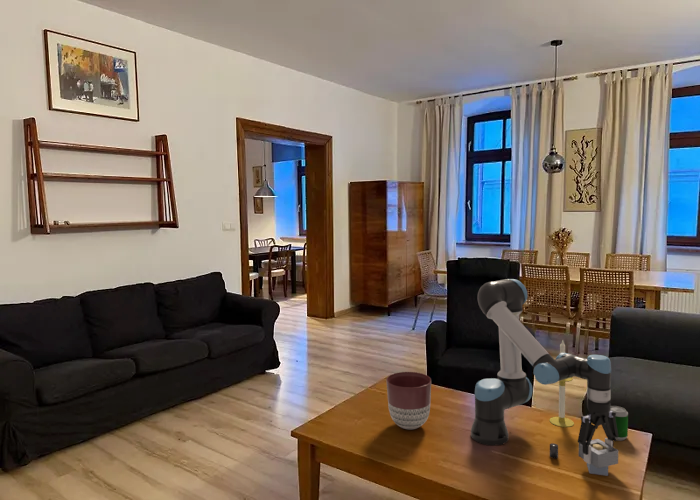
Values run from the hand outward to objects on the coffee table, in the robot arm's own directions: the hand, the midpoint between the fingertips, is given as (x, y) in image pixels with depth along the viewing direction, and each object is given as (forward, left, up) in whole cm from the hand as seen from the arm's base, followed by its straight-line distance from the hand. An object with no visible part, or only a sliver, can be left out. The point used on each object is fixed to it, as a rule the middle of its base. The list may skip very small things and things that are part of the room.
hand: (598, 459), depth 174 cm
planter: (-72, +17, -4) cm, 74 cm away
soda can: (+12, +29, -4) cm, 32 cm away
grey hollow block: (0, 0, 0) cm, 0 cm away
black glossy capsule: (-14, +6, -4) cm, 16 cm away
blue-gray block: (0, 0, -4) cm, 4 cm away
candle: (-8, +38, -4) cm, 39 cm away
